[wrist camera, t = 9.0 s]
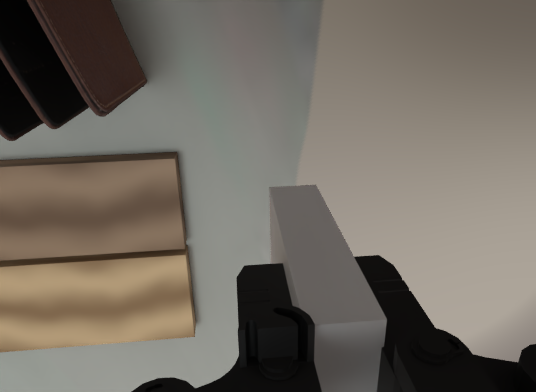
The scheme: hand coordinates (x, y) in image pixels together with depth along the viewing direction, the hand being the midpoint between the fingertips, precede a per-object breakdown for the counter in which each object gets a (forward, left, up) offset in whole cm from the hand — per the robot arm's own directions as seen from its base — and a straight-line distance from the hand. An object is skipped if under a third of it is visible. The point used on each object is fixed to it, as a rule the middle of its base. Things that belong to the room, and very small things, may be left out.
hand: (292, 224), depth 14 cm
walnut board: (+10, -19, -26) cm, 34 cm away
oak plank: (+20, -19, -26) cm, 38 cm away
